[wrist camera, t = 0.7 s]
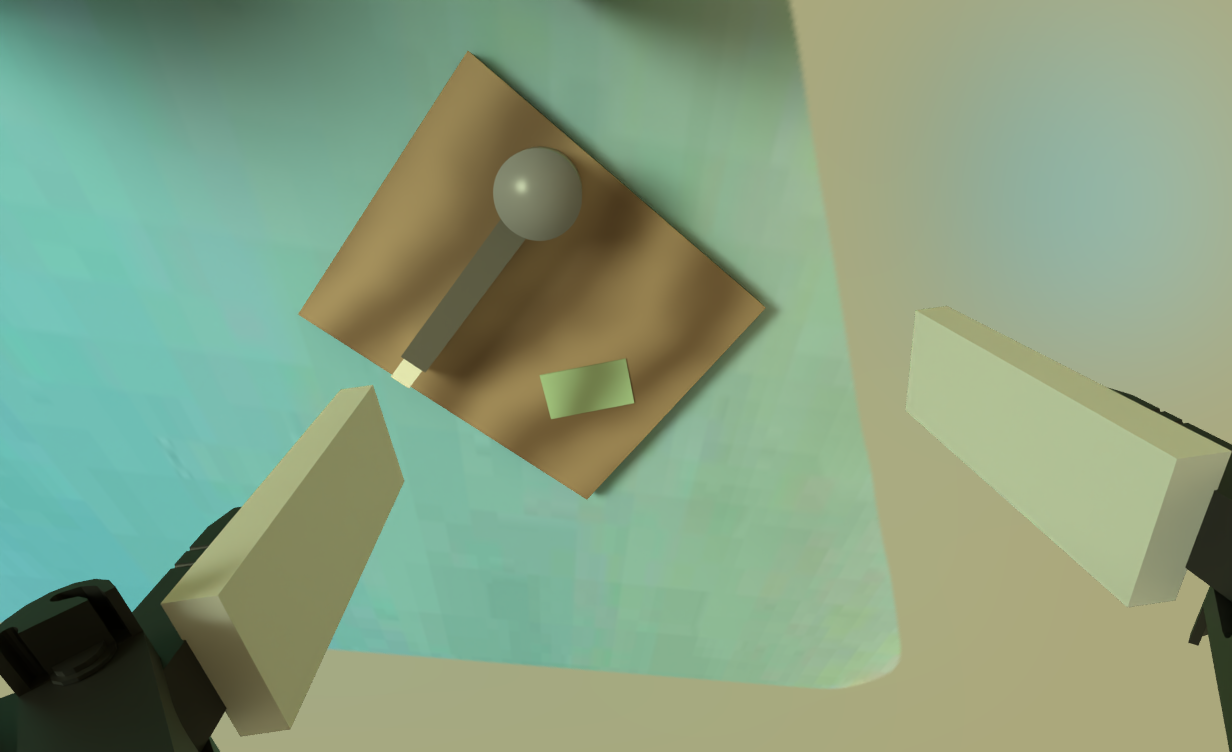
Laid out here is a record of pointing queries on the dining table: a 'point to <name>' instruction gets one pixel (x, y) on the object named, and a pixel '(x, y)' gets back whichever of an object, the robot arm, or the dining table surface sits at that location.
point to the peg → (501, 243)
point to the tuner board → (530, 292)
